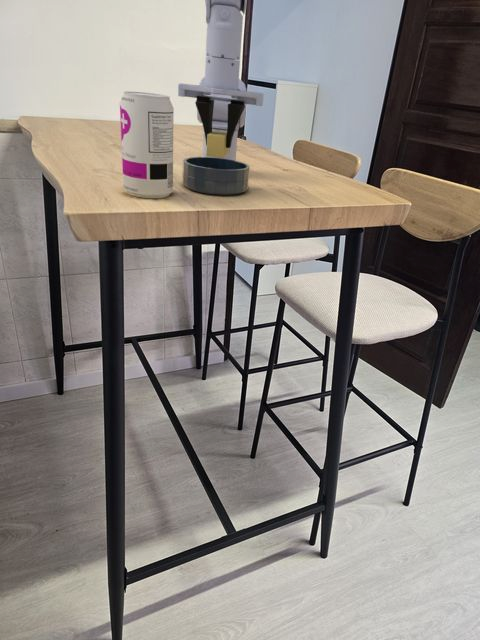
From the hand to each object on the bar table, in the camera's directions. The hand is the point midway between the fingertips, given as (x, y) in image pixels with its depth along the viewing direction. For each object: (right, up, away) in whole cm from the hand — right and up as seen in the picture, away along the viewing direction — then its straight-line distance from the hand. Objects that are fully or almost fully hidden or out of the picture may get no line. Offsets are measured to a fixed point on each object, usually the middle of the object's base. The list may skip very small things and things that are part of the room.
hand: (218, 146), depth 86 cm
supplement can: (-12, -10, -5) cm, 16 cm away
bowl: (-1, -6, +4) cm, 7 cm away
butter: (0, -1, +1) cm, 1 cm away
